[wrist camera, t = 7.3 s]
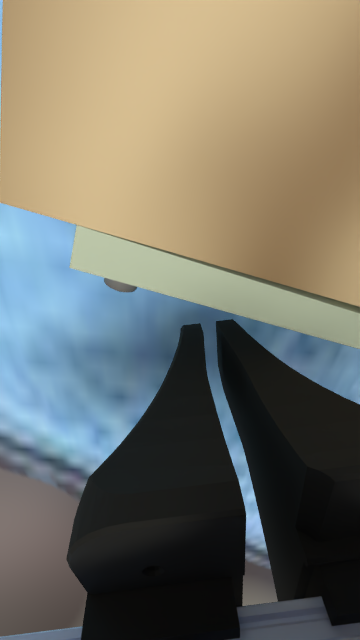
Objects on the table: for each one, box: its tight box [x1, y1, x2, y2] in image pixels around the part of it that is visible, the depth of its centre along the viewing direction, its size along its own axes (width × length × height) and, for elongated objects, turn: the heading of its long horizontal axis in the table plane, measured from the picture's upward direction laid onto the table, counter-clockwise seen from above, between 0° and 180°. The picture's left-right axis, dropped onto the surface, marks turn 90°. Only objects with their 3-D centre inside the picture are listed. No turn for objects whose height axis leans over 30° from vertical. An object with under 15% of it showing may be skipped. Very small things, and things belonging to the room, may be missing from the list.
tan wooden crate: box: [0, 0, 360, 307], centre depth 8 cm, size 14×7×5 cm, turn 72°
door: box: [70, 225, 360, 349], centre depth 10 cm, size 13×2×5 cm, turn 71°
